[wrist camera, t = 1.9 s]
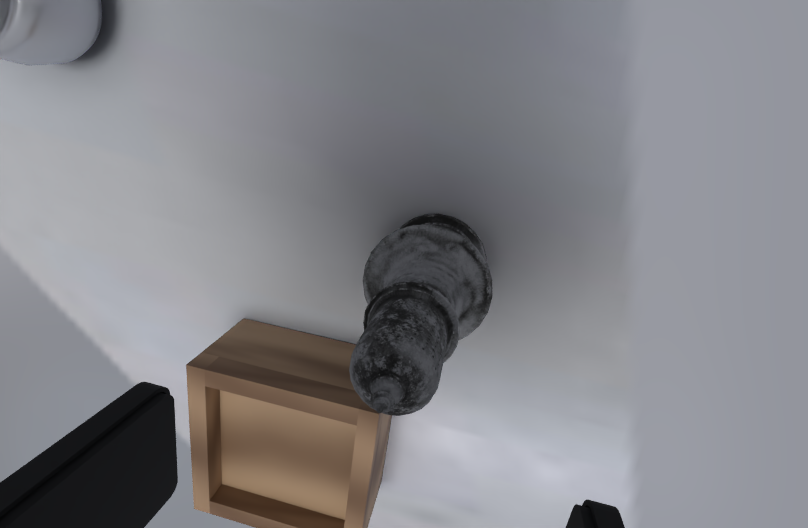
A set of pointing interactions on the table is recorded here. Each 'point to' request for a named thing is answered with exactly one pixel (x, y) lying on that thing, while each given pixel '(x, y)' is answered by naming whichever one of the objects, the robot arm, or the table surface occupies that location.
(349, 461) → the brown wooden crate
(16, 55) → the plastic bottle
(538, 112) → the table surface
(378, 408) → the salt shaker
